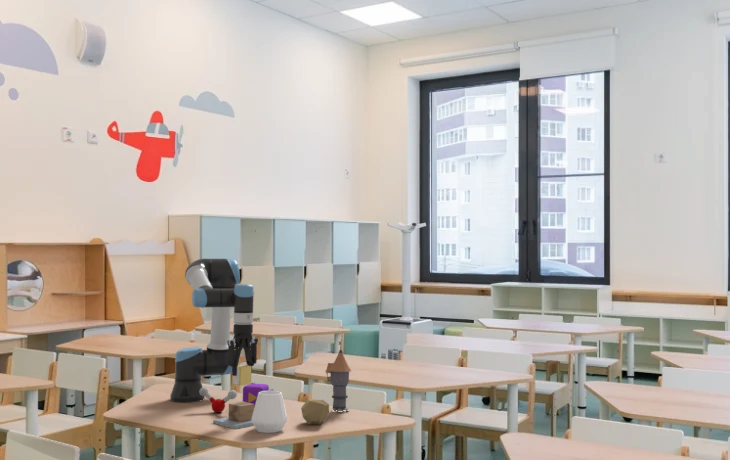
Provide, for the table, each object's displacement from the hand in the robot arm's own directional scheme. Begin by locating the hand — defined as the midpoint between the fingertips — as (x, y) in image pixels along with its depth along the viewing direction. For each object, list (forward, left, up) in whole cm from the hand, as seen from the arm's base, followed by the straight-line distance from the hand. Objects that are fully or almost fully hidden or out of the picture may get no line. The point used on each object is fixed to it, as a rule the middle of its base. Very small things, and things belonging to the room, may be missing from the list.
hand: (241, 383), depth 277 cm
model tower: (+11, +44, -16) cm, 48 cm away
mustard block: (0, 0, 0) cm, 0 cm away
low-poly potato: (+21, +21, -16) cm, 34 cm away
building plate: (0, 0, -15) cm, 15 cm away
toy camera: (-19, +25, -16) cm, 35 cm away
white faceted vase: (+17, 0, -16) cm, 23 cm away
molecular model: (-22, +5, -16) cm, 27 cm away
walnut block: (0, 0, -14) cm, 14 cm away
